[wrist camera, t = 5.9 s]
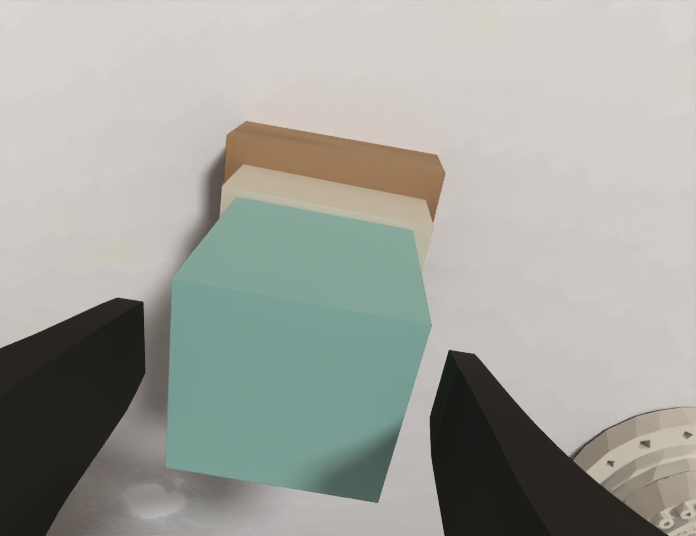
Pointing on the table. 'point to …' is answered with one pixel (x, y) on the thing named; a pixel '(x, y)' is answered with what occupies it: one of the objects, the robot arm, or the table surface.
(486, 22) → the table surface
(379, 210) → the slab top
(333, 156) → the slab base
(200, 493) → the table surface
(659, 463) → the mechanical component
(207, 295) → the cube
